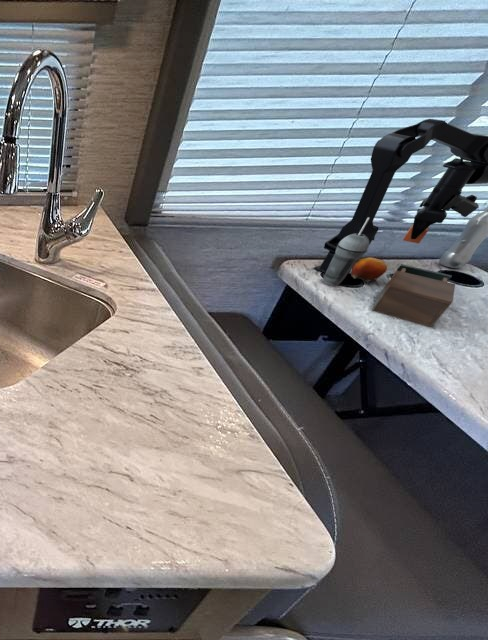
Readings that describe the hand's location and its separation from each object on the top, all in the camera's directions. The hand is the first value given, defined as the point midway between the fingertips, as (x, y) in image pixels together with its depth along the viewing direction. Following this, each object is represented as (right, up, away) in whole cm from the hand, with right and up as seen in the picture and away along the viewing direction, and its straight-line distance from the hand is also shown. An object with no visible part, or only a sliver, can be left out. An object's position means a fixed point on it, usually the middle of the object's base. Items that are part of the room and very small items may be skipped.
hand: (413, 237), depth 124 cm
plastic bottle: (+20, -8, +7) cm, 22 cm away
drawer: (-10, -19, -8) cm, 23 cm away
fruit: (-16, -13, +1) cm, 21 cm away
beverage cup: (-28, -15, -1) cm, 31 cm away
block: (0, -1, +1) cm, 1 cm away
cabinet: (-18, -26, -14) cm, 34 cm away
